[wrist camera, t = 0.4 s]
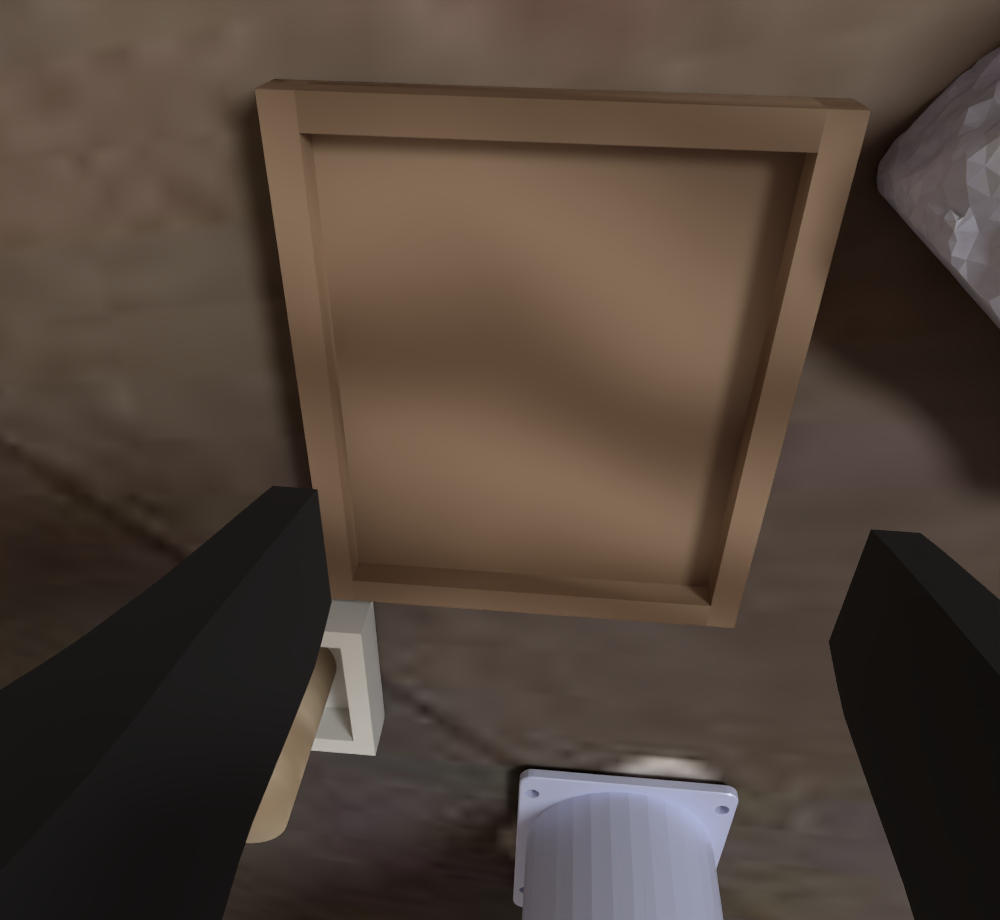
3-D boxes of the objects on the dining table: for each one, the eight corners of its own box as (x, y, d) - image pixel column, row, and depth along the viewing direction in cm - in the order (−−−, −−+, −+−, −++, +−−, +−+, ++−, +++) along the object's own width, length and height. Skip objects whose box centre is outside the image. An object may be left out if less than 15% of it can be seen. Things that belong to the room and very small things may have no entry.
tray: (727, 598, 24) (733, 627, 23) (338, 571, 25) (328, 598, 24) (853, 98, 16) (871, 110, 15) (273, 79, 17) (254, 89, 16)
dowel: (341, 695, 28) (294, 847, 23) (251, 688, 28) (187, 837, 23) (331, 631, 26) (278, 782, 21) (235, 624, 26) (163, 772, 21)
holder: (384, 717, 28) (375, 755, 27) (222, 703, 29) (205, 741, 28) (372, 596, 25) (361, 634, 24) (189, 583, 25) (168, 619, 24)
